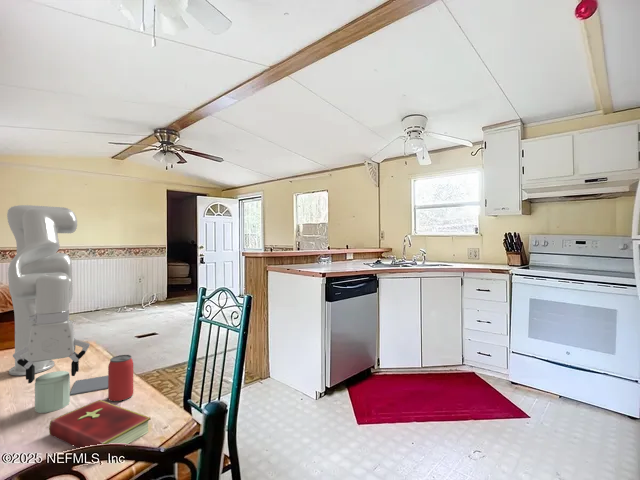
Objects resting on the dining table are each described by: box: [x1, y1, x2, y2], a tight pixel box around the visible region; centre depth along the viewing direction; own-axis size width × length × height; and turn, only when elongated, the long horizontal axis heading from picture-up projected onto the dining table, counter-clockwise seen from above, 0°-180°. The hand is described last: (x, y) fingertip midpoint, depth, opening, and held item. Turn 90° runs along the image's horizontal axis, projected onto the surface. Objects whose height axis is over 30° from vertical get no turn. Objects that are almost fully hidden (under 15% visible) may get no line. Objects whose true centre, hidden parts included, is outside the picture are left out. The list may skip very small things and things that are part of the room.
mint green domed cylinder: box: [34, 370, 71, 414], centre depth 96 cm, size 8×8×8 cm
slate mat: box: [70, 375, 108, 396], centre depth 109 cm, size 11×11×1 cm
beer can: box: [107, 354, 134, 403], centre depth 101 cm, size 7×7×12 cm
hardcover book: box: [48, 399, 152, 449], centre depth 82 cm, size 12×21×4 cm, turn 64°
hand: (53, 377), depth 95 cm, fingers open, 9 cm apart
